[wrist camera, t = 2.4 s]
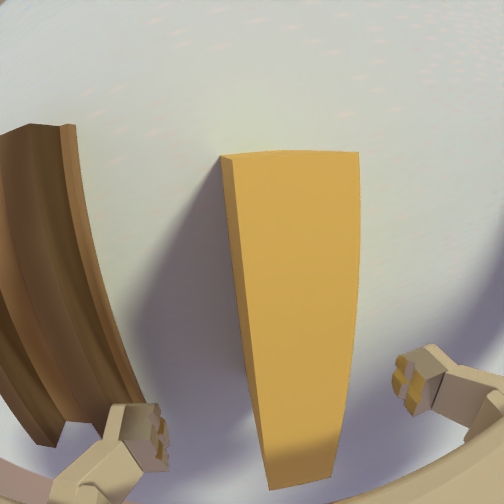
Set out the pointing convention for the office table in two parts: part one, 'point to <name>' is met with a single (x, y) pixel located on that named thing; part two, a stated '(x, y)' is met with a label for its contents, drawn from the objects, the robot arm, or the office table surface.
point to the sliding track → (54, 292)
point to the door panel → (295, 299)
